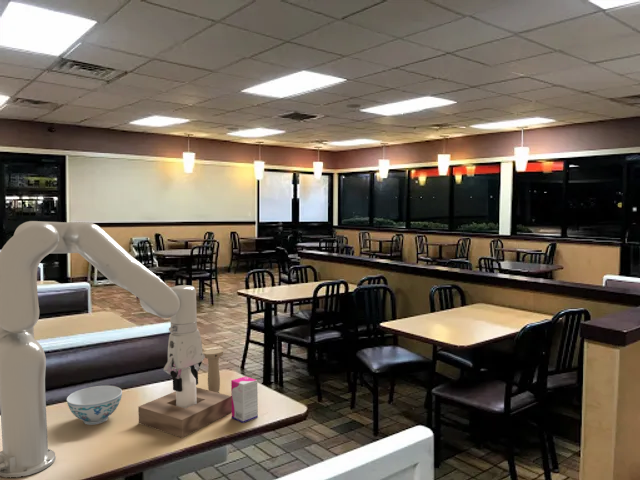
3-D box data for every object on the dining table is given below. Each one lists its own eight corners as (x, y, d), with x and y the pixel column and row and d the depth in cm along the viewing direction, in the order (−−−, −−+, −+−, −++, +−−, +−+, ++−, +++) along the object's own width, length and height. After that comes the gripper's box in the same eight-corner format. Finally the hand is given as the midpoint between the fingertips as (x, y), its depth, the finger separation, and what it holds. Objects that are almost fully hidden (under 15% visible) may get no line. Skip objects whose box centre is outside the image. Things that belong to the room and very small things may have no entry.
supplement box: (258, 417, 151) (258, 379, 150) (243, 423, 147) (242, 385, 146) (246, 411, 155) (245, 375, 154) (230, 418, 151) (230, 380, 150)
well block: (182, 437, 138) (181, 420, 137) (138, 423, 147) (138, 406, 147) (231, 412, 155) (231, 396, 154) (190, 400, 164) (189, 385, 164)
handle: (226, 396, 168) (225, 351, 167) (207, 400, 164) (206, 355, 163) (220, 391, 172) (219, 348, 171) (202, 395, 168) (201, 351, 167)
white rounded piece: (175, 371, 146) (174, 365, 152) (176, 411, 147) (175, 404, 152) (196, 368, 148) (194, 363, 154) (197, 408, 149) (195, 401, 155)
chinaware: (59, 420, 150) (58, 395, 149) (109, 405, 161) (108, 382, 160) (80, 436, 139) (79, 409, 139) (132, 419, 150) (131, 393, 150)
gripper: (170, 335, 140) (172, 399, 141) (213, 323, 154) (215, 380, 156) (151, 332, 144) (154, 394, 145) (196, 320, 158) (197, 376, 160)
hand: (185, 386), depth 150 cm, fingers closed on white rounded piece, 5 cm apart
